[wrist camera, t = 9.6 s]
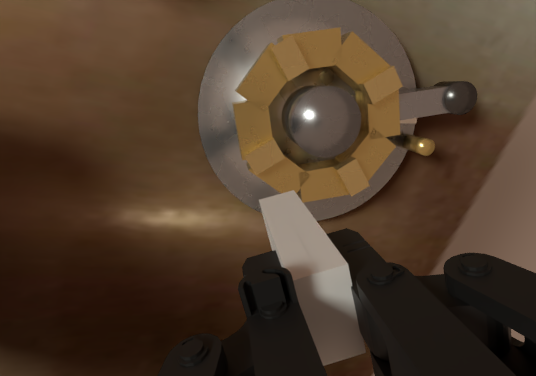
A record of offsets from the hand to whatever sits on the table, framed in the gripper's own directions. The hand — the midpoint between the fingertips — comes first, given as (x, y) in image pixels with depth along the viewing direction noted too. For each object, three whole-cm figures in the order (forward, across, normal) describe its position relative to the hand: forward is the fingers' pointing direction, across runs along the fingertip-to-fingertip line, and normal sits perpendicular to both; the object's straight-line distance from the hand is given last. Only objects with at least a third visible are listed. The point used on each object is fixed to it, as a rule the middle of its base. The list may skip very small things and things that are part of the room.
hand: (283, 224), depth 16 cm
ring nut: (+22, +11, 0) cm, 24 cm away
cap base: (+24, +7, +1) cm, 25 cm away
